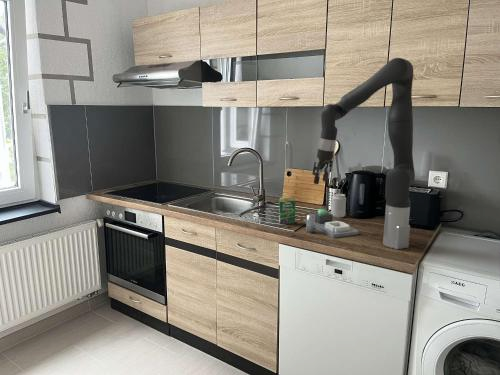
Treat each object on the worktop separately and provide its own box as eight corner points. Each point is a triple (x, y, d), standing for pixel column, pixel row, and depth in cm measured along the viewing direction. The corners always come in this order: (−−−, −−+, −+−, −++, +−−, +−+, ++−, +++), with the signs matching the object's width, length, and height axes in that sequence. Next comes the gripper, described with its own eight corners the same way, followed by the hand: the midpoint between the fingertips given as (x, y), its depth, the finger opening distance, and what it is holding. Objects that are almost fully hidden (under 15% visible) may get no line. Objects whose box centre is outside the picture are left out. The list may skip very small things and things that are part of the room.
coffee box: (278, 224, 182) (279, 198, 179) (278, 222, 185) (278, 197, 182) (295, 224, 182) (295, 198, 179) (294, 222, 185) (295, 197, 182)
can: (335, 218, 192) (336, 196, 190) (328, 214, 199) (329, 193, 197) (347, 217, 194) (349, 195, 192) (340, 213, 201) (341, 192, 199)
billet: (316, 232, 169) (317, 216, 168) (308, 233, 168) (309, 216, 166) (311, 230, 173) (312, 213, 171) (304, 231, 171) (304, 214, 170)
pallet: (358, 234, 167) (359, 222, 166) (333, 237, 162) (333, 226, 161) (326, 219, 191) (327, 209, 190) (303, 222, 186) (303, 211, 185)
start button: (328, 216, 181) (328, 211, 180) (320, 217, 179) (320, 211, 179) (323, 214, 185) (323, 208, 184) (315, 215, 183) (316, 209, 183)
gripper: (326, 151, 159) (320, 186, 164) (340, 149, 170) (334, 182, 175) (311, 148, 164) (305, 182, 168) (326, 146, 174) (320, 178, 179)
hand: (320, 182), depth 171 cm, fingers open, 8 cm apart
